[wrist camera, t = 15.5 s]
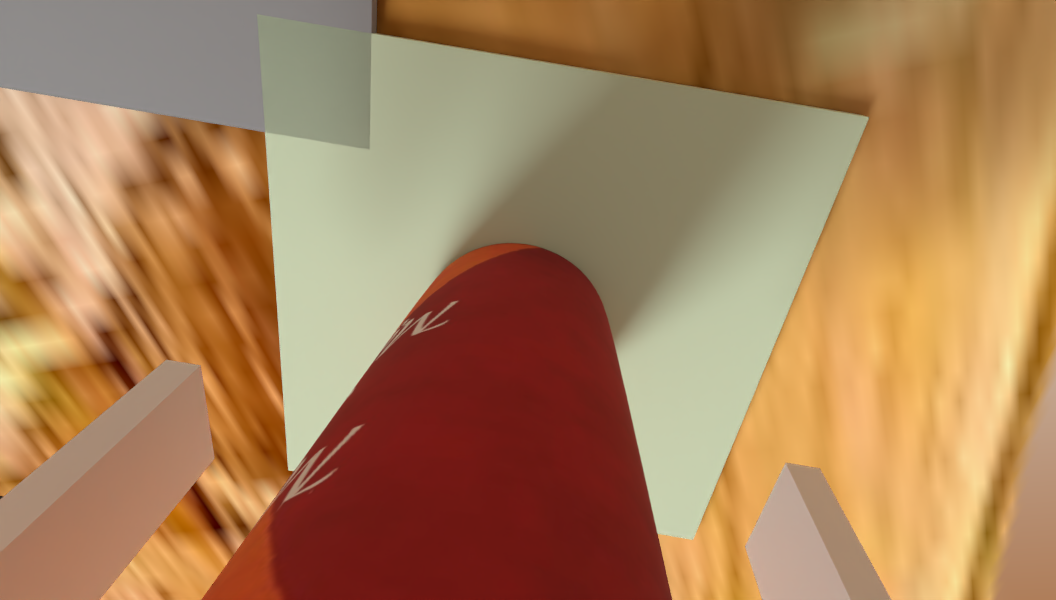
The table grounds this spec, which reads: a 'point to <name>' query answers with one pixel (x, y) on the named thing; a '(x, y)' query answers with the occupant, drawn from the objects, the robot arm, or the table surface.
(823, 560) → the robot arm
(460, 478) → the coffee cup
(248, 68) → the pad grey
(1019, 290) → the table surface
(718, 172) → the pad green
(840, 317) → the table surface
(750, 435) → the table surface
